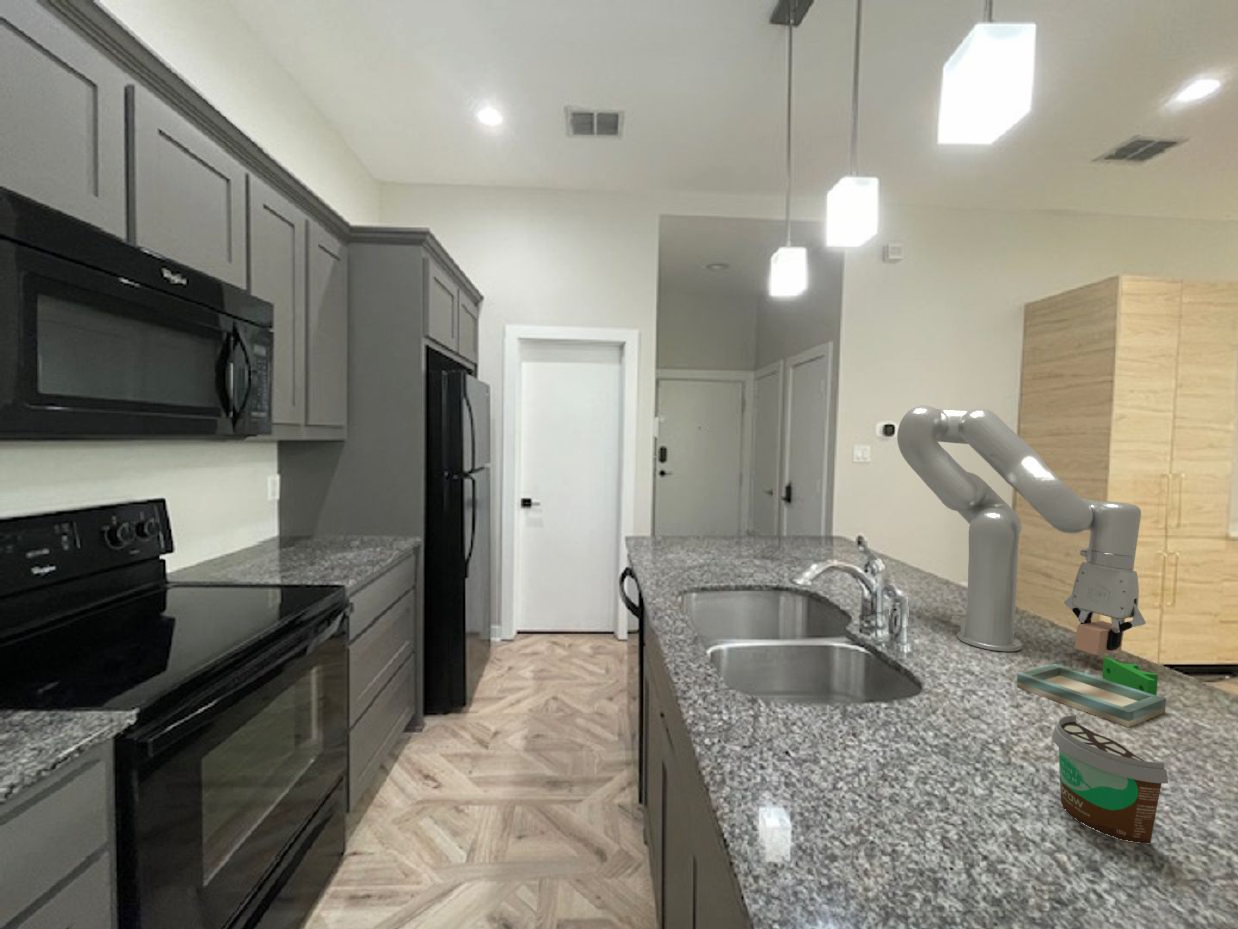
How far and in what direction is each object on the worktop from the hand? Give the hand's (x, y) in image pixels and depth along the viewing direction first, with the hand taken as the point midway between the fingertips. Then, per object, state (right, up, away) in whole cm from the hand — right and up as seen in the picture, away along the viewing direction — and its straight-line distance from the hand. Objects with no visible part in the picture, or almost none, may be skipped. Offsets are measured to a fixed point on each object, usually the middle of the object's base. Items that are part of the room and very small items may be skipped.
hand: (1098, 644), depth 121 cm
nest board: (-17, -4, -18) cm, 25 cm away
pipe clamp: (-5, -5, -13) cm, 15 cm away
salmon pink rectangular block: (0, -1, 0) cm, 1 cm away
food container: (-45, -5, -52) cm, 69 cm away
